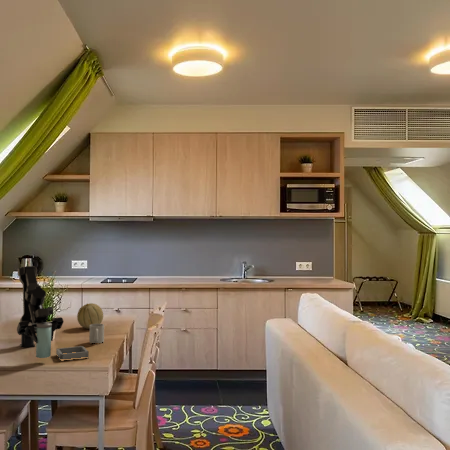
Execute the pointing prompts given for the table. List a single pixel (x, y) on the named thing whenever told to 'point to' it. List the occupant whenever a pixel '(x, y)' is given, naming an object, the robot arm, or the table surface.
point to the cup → (96, 333)
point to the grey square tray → (79, 353)
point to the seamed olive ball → (89, 315)
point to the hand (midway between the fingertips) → (44, 341)
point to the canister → (43, 340)
